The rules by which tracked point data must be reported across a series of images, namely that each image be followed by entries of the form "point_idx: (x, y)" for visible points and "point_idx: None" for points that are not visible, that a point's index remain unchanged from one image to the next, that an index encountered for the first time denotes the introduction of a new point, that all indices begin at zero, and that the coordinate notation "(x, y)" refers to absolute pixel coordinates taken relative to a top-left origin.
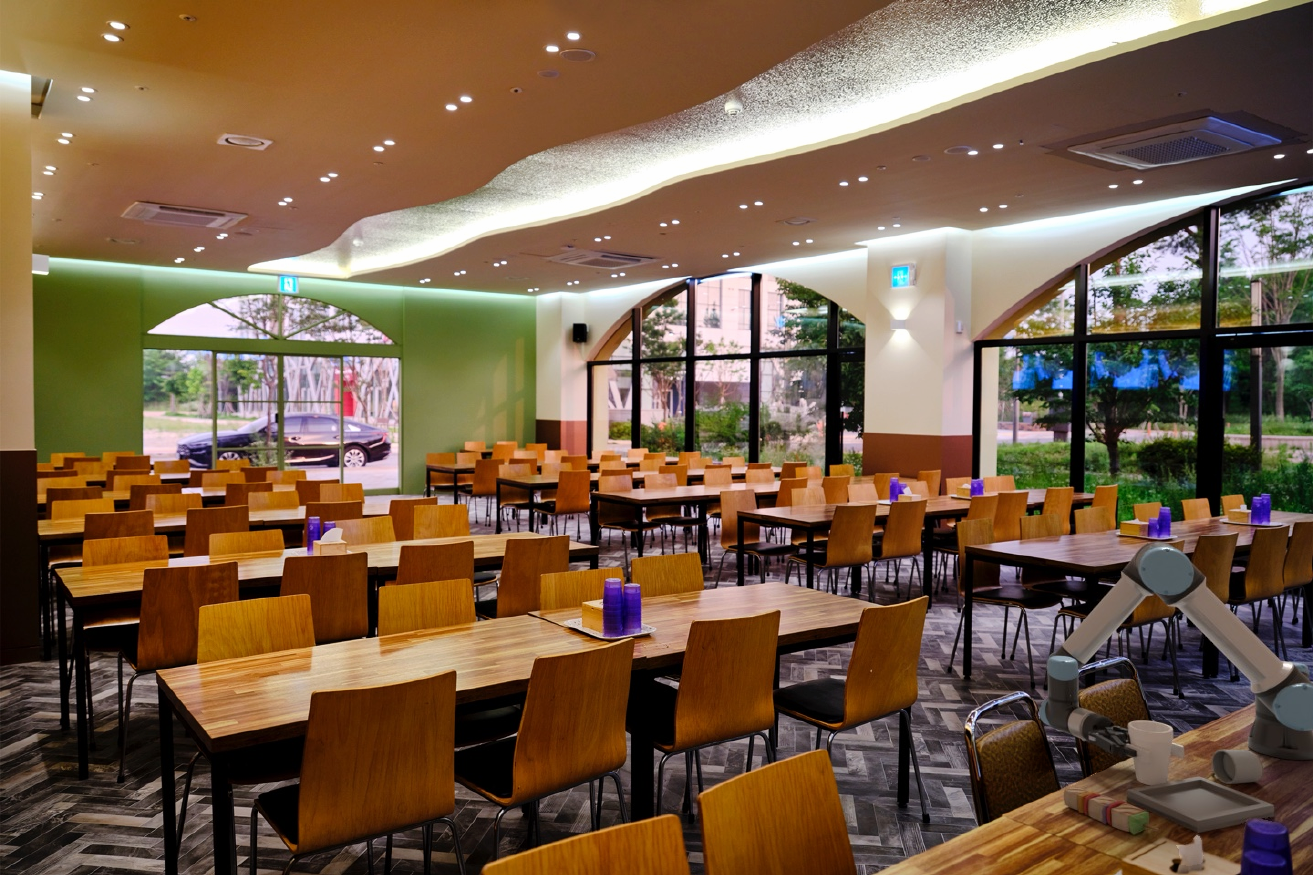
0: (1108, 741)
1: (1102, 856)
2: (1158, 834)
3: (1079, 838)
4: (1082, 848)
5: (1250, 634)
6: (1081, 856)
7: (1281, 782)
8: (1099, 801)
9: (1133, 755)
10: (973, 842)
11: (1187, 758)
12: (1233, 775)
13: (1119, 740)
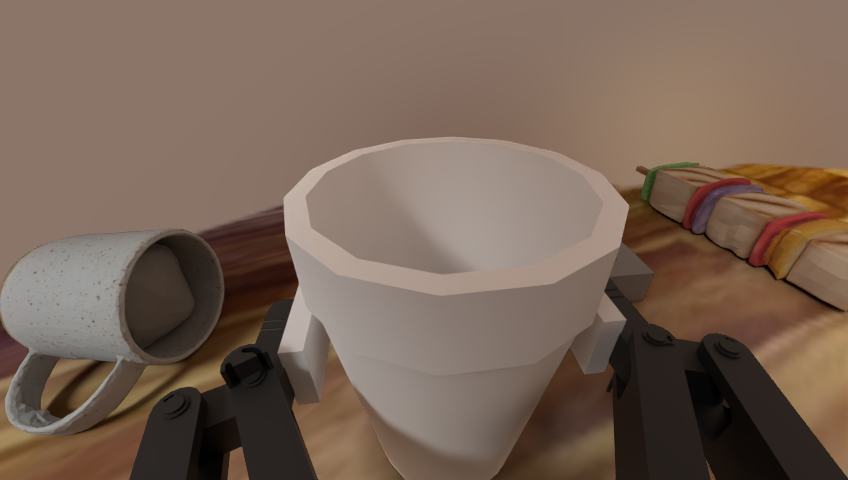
0: (779, 411)
1: (751, 173)
2: (622, 196)
3: (802, 204)
4: (792, 187)
5: None
6: (792, 176)
7: None
8: (775, 198)
9: None
10: None
11: None
12: (187, 299)
13: (654, 408)
